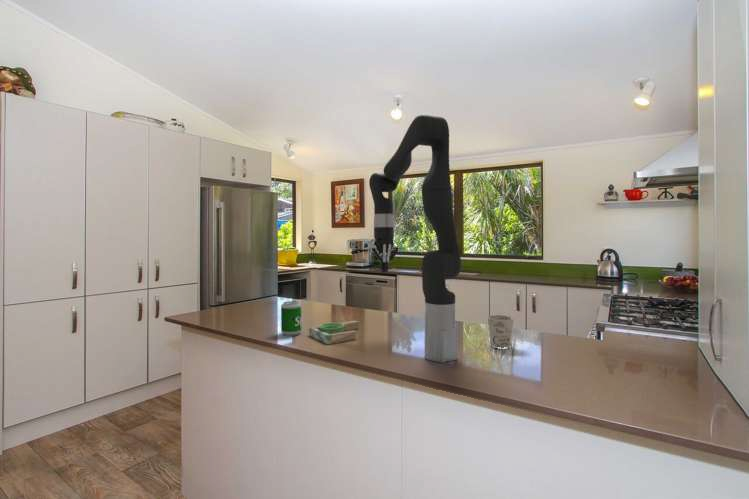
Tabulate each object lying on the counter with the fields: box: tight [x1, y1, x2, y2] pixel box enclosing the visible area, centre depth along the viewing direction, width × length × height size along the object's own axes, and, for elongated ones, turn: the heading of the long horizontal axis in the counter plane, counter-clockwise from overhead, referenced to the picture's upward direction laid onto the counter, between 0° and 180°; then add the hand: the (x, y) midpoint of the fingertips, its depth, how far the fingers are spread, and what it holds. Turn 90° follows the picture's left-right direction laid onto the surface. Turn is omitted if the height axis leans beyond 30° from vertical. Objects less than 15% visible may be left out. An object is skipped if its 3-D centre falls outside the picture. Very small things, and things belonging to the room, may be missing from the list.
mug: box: [487, 314, 514, 348], centre depth 138 cm, size 8×13×10 cm, turn 152°
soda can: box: [280, 300, 303, 337], centre depth 153 cm, size 8×8×12 cm
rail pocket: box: [308, 320, 359, 345], centre depth 150 cm, size 14×20×3 cm
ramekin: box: [318, 322, 344, 334], centre depth 148 cm, size 9×9×4 cm
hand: (384, 272), depth 152 cm, fingers closed
